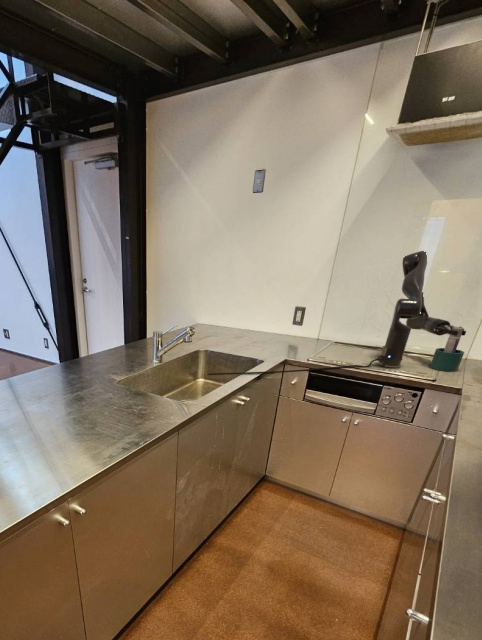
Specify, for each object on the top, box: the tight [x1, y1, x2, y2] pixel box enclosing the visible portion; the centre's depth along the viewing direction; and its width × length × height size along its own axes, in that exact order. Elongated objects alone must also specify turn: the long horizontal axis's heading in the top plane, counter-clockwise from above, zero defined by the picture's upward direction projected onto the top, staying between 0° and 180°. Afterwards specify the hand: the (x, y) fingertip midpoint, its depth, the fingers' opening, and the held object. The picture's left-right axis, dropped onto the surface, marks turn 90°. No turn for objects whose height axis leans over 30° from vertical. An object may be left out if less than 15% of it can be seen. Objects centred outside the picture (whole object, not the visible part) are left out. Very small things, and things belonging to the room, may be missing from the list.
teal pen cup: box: [430, 347, 465, 372], centre depth 192 cm, size 12×12×9 cm
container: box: [444, 326, 465, 353], centre depth 189 cm, size 5×5×15 cm
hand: (460, 333), depth 184 cm, fingers closed on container, 3 cm apart
